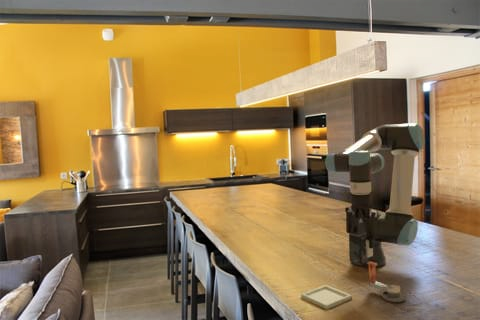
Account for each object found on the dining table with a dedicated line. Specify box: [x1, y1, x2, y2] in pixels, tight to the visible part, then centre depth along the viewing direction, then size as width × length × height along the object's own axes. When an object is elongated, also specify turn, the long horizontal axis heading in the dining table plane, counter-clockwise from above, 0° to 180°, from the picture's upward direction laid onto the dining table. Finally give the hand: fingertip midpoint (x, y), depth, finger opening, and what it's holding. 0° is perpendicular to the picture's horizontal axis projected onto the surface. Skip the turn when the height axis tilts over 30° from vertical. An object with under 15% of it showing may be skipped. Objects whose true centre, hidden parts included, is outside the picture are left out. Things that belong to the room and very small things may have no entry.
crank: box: [367, 262, 401, 297], centre depth 149 cm, size 13×4×10 cm, turn 36°
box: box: [348, 230, 375, 265], centre depth 149 cm, size 8×6×11 cm
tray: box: [300, 284, 353, 310], centre depth 149 cm, size 13×13×1 cm
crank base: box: [381, 291, 407, 304], centre depth 146 cm, size 8×8×1 cm
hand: (362, 254), depth 149 cm, fingers closed on box, 6 cm apart
